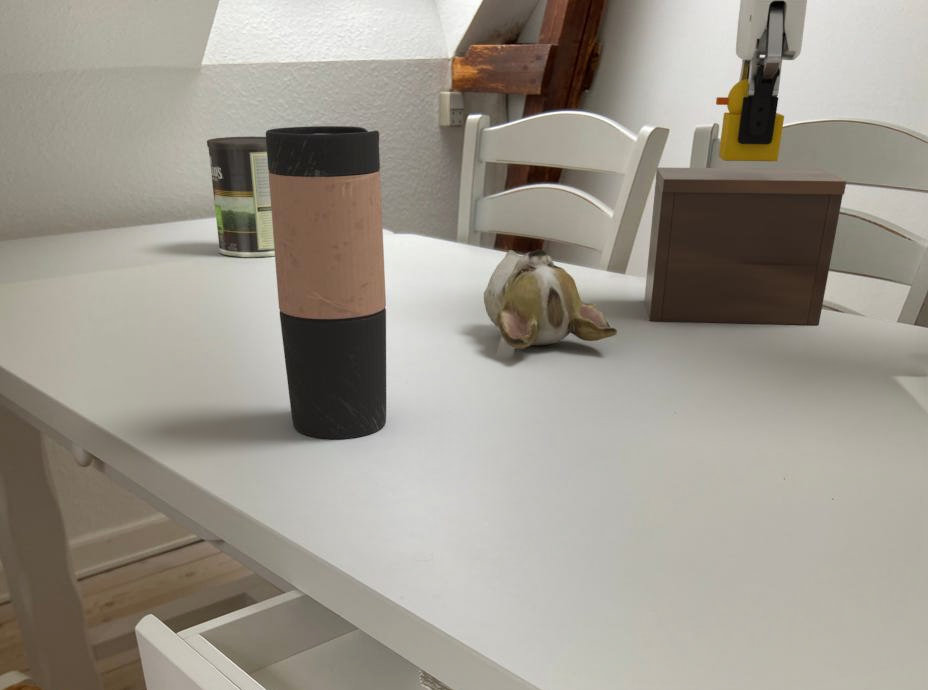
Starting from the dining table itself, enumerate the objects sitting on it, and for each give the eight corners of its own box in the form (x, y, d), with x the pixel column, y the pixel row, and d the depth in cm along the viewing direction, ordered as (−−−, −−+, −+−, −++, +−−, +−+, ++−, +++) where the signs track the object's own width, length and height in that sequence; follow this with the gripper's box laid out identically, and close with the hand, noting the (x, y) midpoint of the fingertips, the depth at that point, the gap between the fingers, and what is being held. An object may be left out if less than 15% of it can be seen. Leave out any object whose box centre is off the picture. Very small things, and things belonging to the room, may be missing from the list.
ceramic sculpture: (559, 229, 100) (630, 266, 88) (553, 317, 105) (620, 362, 93) (459, 236, 97) (519, 275, 85) (458, 326, 102) (514, 374, 90)
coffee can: (221, 259, 135) (208, 143, 128) (217, 246, 144) (205, 137, 136) (297, 255, 137) (288, 141, 130) (289, 243, 146) (281, 135, 139)
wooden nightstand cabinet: (644, 299, 113) (656, 167, 107) (799, 302, 112) (822, 168, 105) (649, 322, 104) (663, 179, 97) (819, 326, 102) (846, 181, 95)
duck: (770, 157, 102) (782, 78, 98) (777, 161, 98) (790, 79, 95) (707, 156, 103) (716, 78, 99) (712, 160, 99) (722, 79, 95)
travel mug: (270, 432, 74) (241, 132, 64) (319, 403, 81) (299, 124, 70) (362, 445, 72) (347, 135, 62) (406, 414, 78) (398, 127, 68)
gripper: (845, -96, 83) (805, 149, 92) (806, -75, 97) (775, 135, 106) (752, -95, 83) (722, 149, 93) (727, -74, 98) (703, 134, 107)
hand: (750, 139), depth 99 cm, fingers closed on duck, 4 cm apart
